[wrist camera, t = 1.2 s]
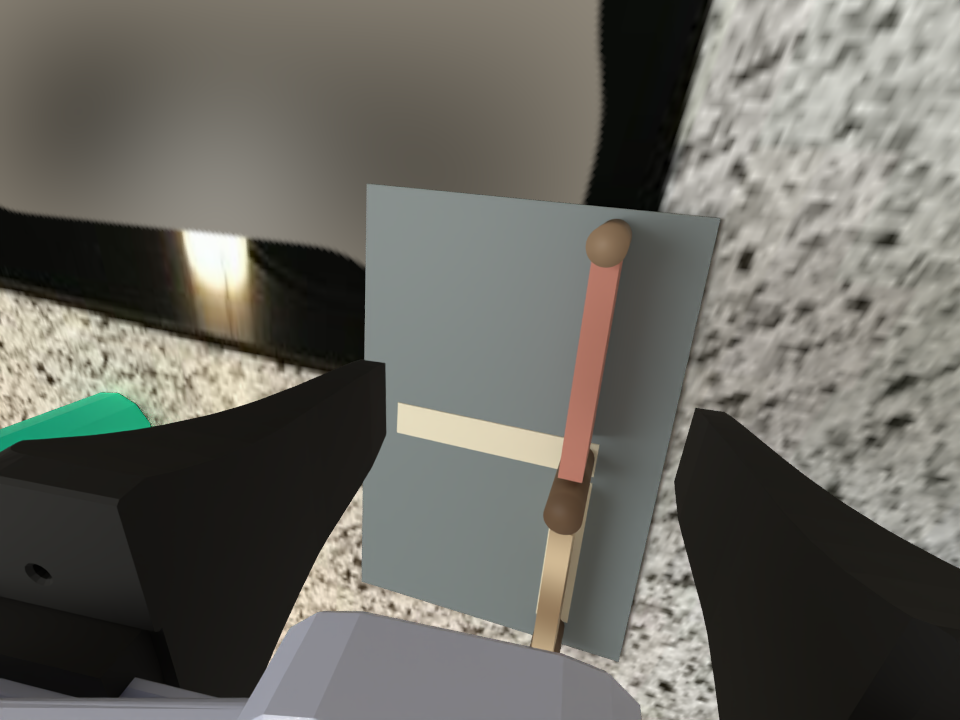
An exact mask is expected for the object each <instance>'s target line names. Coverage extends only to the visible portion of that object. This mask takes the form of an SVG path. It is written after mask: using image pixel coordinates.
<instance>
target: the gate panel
mask: <svg viewBox="0 0 960 720" xmlns="http://www.w3.org/2000/svg"><path fill="white" fill-rule="evenodd" d="M631 240H632V230H631V228H630V226H629V224H628V223H627V222H625V221H623V220H621V219H611V220H608V221H607V222H605V223H604V224H602V225H601V226H599V227H598V228H596V229H595V230H594V231H592V233H591V234H590V235H589V237H588V239H587V241H586V253H587V256H588V258H589V259H590V261H591V267H590V273H589V279H588V286H587V292H586V299H585V305H584V312H583V318H582V325H581V331H580V338H579V344H578V350H577V357H576V363H575V370H574V376H573V383H572V389H571V396H570V402H569V409H568V415H567V421H566V428H565V434H564V441H563V447H562V454H561V460H560V467H559V473H558V478H562V479H566V480H570V481H575V482H579V483H582V481H583V476H584V472H585V467H586V463H587V458H588V454H589V449H590V445H591V440H592V435H593V429H594V423H595V418H596V412H597V406H598V400H599V395H600V389H601V383H602V377H603V372H604V366H605V360H606V355H607V349H608V343H609V337H610V332H611V326H612V320H613V315H614V309H615V303H616V297H617V292H618V286H619V280H620V274H621V269H622V263H623V259H624V258H625V256H626V254H627V252H628V249H629V246H630V243H631Z"/></svg>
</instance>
